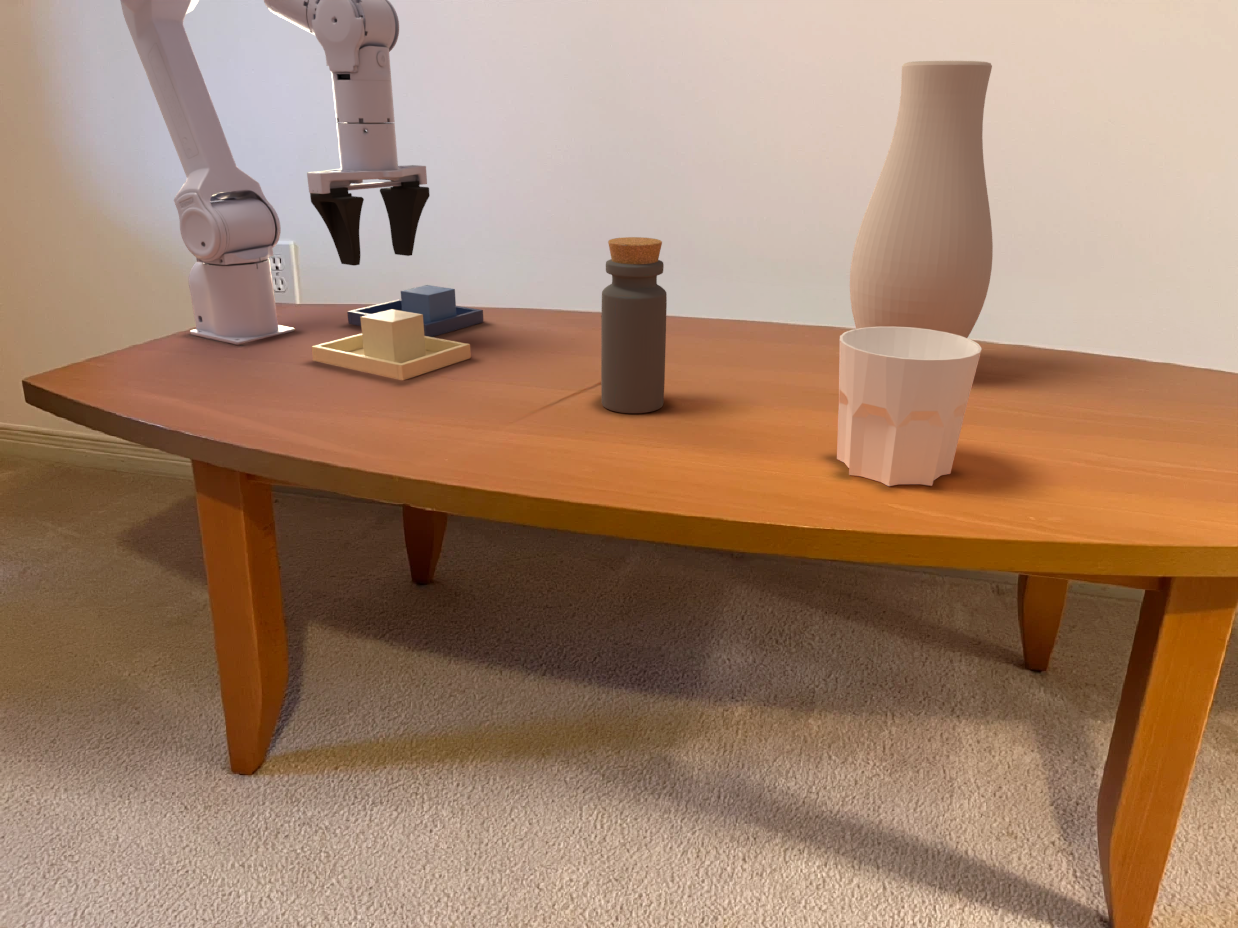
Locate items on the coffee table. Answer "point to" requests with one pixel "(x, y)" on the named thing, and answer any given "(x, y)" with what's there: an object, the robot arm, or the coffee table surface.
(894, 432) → the cup
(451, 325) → the blue tray
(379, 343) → the cream block
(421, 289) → the blue block
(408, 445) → the coffee table surface
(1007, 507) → the coffee table surface
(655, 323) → the bottle
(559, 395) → the coffee table surface
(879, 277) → the vase
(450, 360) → the cream tray
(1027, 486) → the coffee table surface
